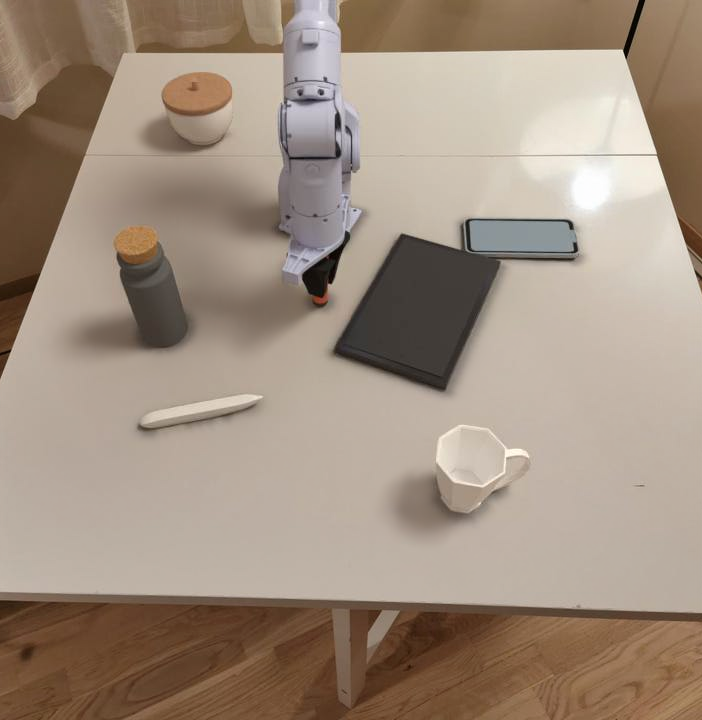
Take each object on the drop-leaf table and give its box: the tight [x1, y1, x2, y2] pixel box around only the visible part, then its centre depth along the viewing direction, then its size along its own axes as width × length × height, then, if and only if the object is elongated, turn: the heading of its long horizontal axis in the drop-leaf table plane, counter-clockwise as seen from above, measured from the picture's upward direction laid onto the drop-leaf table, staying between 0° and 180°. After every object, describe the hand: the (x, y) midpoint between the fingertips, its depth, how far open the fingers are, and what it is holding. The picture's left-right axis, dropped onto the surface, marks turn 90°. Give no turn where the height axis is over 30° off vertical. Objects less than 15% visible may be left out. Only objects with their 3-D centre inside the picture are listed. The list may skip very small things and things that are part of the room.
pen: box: [139, 393, 264, 429], centre depth 79 cm, size 2×14×2 cm, turn 102°
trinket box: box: [160, 71, 234, 146], centre depth 110 cm, size 11×11×9 cm
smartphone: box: [462, 217, 581, 259], centre depth 96 cm, size 7×1×15 cm
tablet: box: [334, 232, 502, 392], centre depth 89 cm, size 14×22×1 cm, turn 156°
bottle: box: [113, 225, 189, 349], centre depth 82 cm, size 6×6×15 cm
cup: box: [434, 423, 531, 514], centre depth 70 cm, size 7×10×8 cm
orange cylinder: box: [311, 255, 329, 308], centre depth 87 cm, size 2×2×8 cm
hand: (321, 287), depth 88 cm, fingers closed on orange cylinder, 2 cm apart
